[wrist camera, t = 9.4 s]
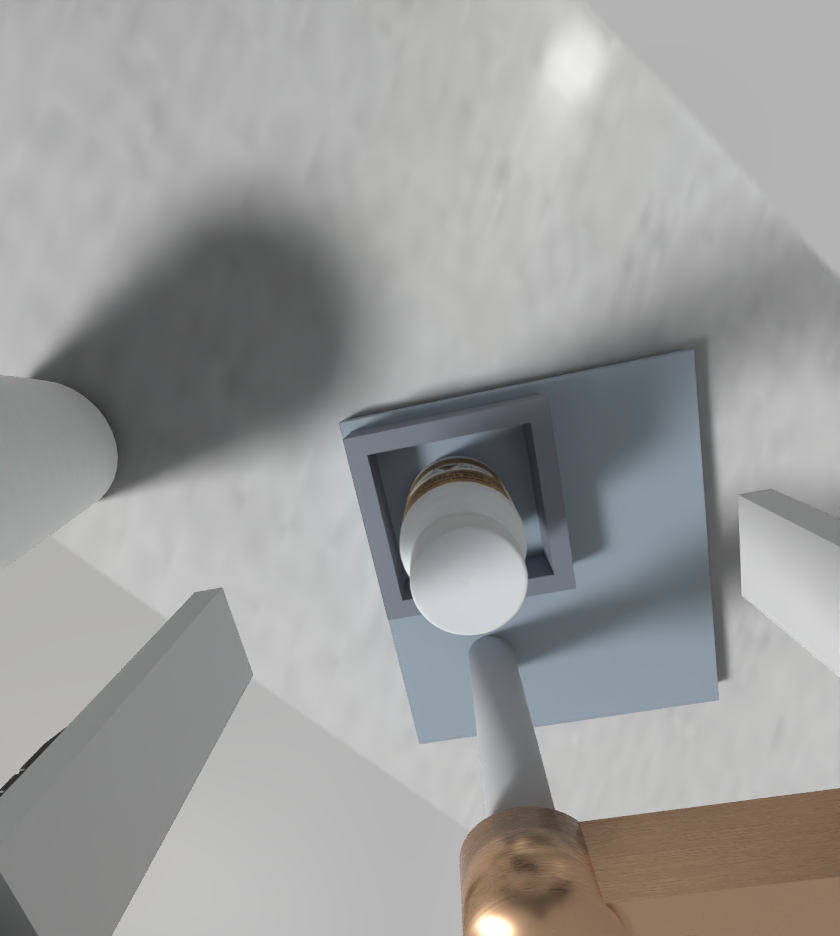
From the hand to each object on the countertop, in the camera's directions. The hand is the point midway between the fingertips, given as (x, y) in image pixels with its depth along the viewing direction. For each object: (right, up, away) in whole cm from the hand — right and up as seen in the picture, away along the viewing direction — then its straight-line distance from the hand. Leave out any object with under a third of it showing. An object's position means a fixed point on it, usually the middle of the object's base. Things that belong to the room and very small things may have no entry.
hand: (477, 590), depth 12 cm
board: (+4, -1, +11) cm, 11 cm away
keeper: (+7, -7, +1) cm, 10 cm away
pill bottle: (0, +2, +9) cm, 9 cm away
